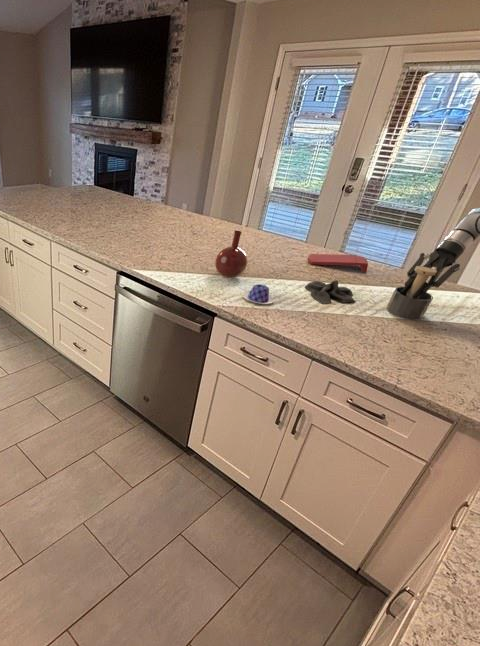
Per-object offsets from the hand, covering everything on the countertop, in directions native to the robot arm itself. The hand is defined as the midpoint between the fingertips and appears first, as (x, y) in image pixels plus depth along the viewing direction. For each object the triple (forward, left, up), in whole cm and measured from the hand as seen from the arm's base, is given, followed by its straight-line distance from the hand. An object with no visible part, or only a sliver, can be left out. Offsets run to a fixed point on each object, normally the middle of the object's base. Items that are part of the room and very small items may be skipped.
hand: (407, 295), depth 153 cm
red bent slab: (+39, -33, -8) cm, 52 cm away
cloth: (+24, +5, -8) cm, 26 cm away
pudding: (+39, +34, -8) cm, 53 cm away
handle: (-1, -4, -5) cm, 7 cm away
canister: (-1, -4, -8) cm, 9 cm away
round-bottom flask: (+60, +25, -8) cm, 66 cm away
